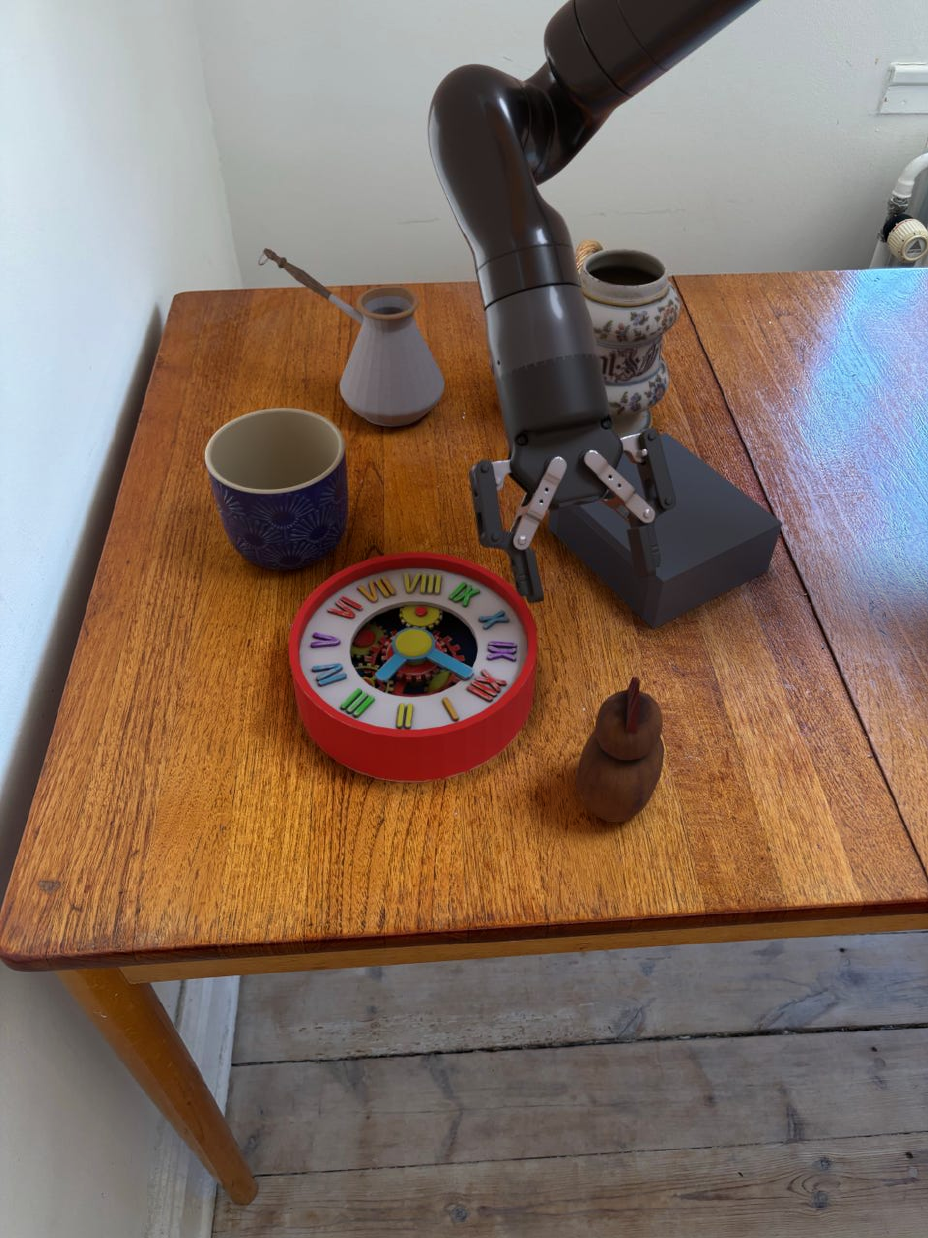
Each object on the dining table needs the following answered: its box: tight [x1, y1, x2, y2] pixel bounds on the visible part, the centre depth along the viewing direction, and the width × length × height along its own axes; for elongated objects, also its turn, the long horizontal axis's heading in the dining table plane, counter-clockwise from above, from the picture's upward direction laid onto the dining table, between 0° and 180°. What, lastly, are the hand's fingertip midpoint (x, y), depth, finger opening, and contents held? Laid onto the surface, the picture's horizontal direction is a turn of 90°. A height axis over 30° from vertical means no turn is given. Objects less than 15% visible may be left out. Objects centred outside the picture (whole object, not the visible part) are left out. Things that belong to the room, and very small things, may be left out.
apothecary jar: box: [579, 247, 681, 438], centre depth 105 cm, size 12×12×18 cm
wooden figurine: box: [574, 676, 665, 823], centre depth 72 cm, size 7×6×15 cm
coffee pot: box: [257, 248, 446, 428], centre depth 109 cm, size 21×12×15 cm, turn 62°
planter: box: [204, 407, 349, 571], centre depth 93 cm, size 12×12×11 cm
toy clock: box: [287, 551, 539, 783], centre depth 83 cm, size 20×6×20 cm
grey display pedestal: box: [547, 432, 783, 630], centre depth 95 cm, size 14×16×6 cm
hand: (592, 589), depth 72 cm, fingers open, 8 cm apart
